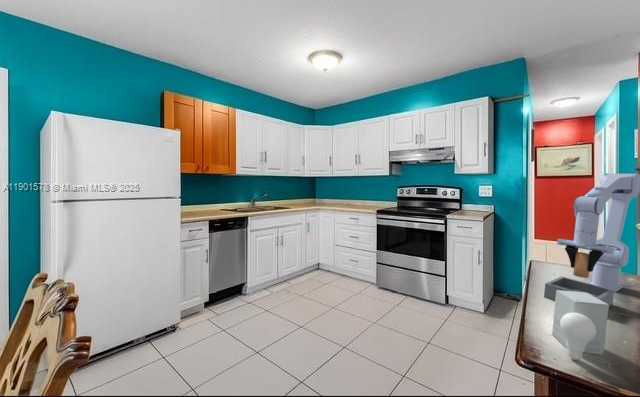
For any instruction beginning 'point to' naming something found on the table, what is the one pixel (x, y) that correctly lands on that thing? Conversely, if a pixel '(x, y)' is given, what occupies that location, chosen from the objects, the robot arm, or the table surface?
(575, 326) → the lightbulb
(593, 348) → the supplement box
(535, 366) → the table surface
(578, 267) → the peg
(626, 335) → the table surface
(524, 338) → the table surface
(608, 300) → the box
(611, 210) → the robot arm
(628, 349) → the table surface
